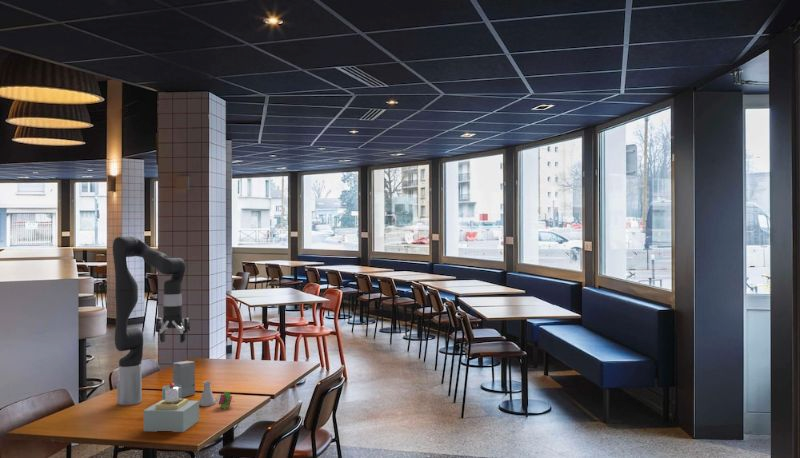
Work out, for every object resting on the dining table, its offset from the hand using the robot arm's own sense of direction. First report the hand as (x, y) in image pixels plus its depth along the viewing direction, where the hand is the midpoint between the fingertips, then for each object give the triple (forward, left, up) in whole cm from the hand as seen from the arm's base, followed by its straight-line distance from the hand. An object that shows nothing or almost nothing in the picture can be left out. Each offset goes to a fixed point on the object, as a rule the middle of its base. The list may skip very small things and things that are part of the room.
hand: (172, 342), depth 248 cm
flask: (+10, +12, -30) cm, 34 cm away
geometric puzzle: (+20, +8, -30) cm, 37 cm away
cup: (-2, +3, -30) cm, 30 cm away
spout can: (+8, -17, -24) cm, 30 cm away
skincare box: (-7, +25, -30) cm, 40 cm away
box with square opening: (+8, -17, -30) cm, 35 cm away
